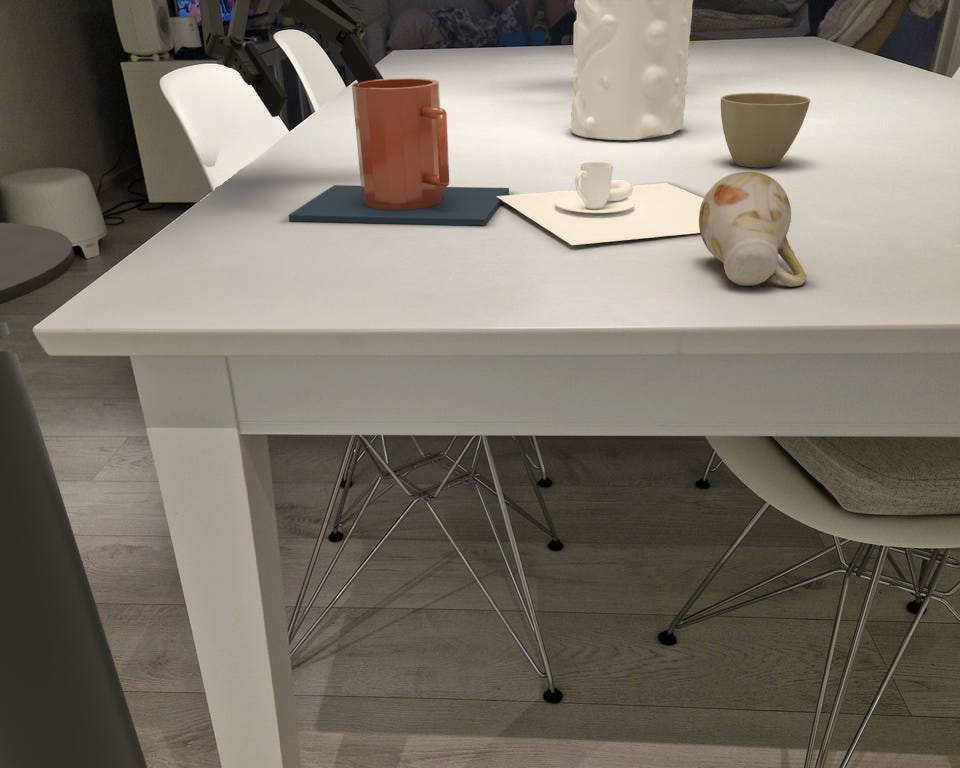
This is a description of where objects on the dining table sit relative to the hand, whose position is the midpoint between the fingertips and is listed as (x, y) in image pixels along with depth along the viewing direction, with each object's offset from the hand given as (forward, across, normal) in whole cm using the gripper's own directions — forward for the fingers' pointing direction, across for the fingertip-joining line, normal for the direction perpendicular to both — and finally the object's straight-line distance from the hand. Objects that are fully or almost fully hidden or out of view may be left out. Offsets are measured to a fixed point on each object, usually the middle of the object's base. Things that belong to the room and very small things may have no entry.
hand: (331, 100), depth 96 cm
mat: (+14, 0, 0) cm, 14 cm away
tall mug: (+14, 0, +1) cm, 14 cm away
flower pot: (+27, -40, +14) cm, 51 cm away
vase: (+9, -51, -4) cm, 52 cm away
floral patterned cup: (+42, 0, +28) cm, 50 cm away
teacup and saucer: (+28, -11, +15) cm, 33 cm away
